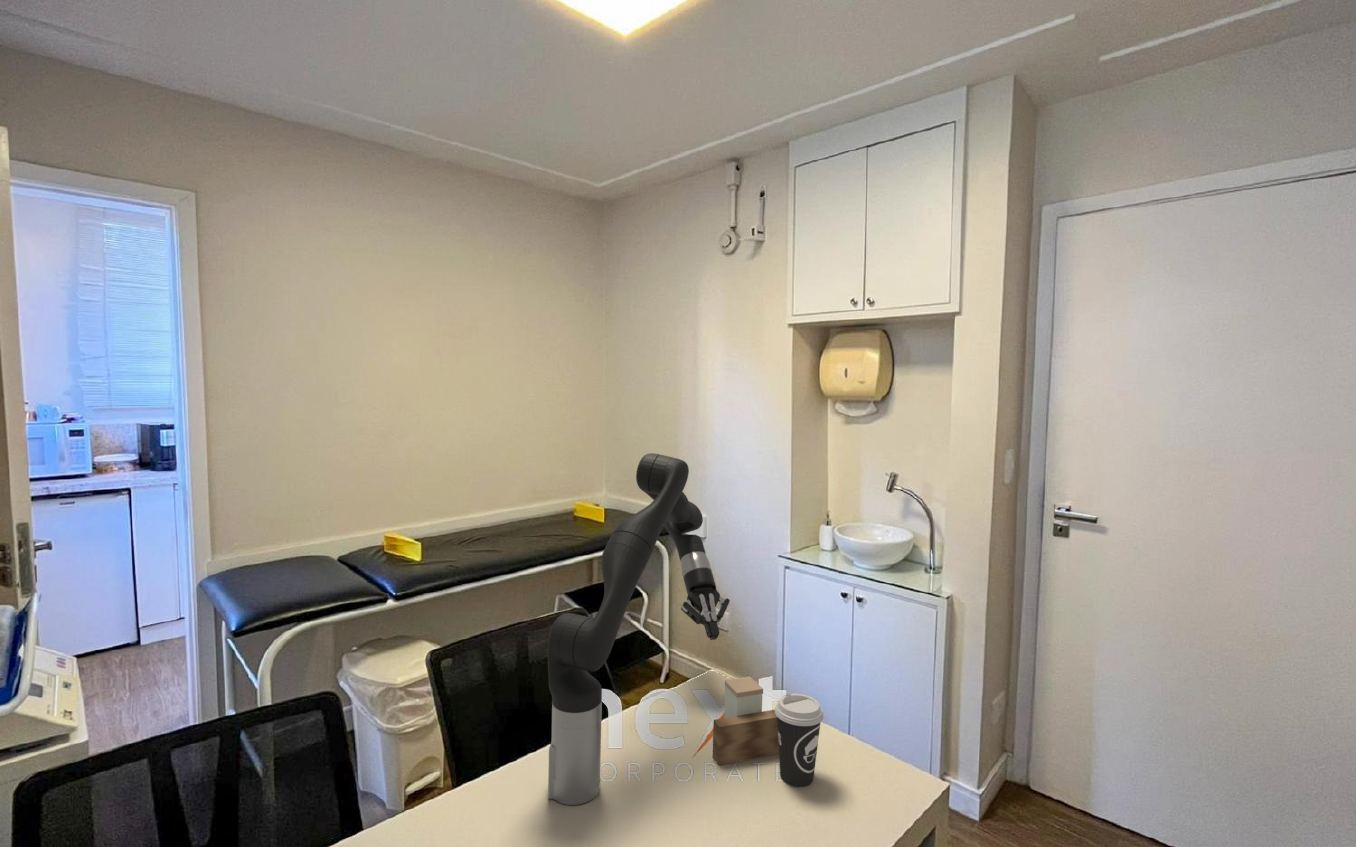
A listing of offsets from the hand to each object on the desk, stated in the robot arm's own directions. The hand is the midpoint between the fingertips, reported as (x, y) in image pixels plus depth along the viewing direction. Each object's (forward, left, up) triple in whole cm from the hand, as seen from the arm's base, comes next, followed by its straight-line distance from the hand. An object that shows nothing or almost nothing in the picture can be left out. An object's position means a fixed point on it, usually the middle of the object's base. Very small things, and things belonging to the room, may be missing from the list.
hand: (714, 638), depth 150 cm
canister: (+6, -14, -17) cm, 23 cm away
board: (+7, -19, -17) cm, 26 cm away
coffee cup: (+15, -26, -17) cm, 35 cm away
